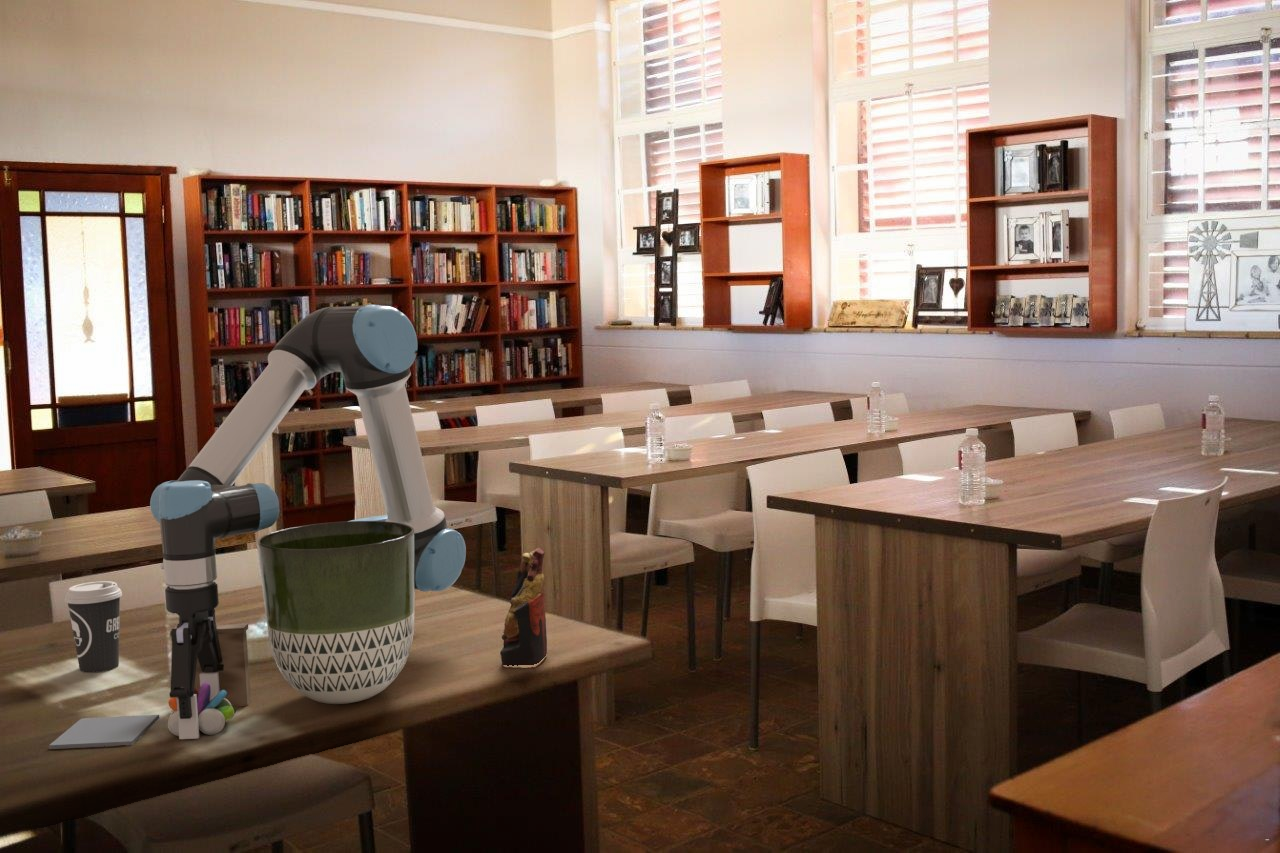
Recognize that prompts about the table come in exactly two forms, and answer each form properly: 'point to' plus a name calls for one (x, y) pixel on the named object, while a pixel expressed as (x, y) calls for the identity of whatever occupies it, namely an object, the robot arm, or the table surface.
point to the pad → (104, 731)
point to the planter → (339, 606)
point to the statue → (526, 615)
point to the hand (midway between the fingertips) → (200, 725)
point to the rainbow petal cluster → (205, 711)
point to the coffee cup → (95, 624)
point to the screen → (232, 664)
